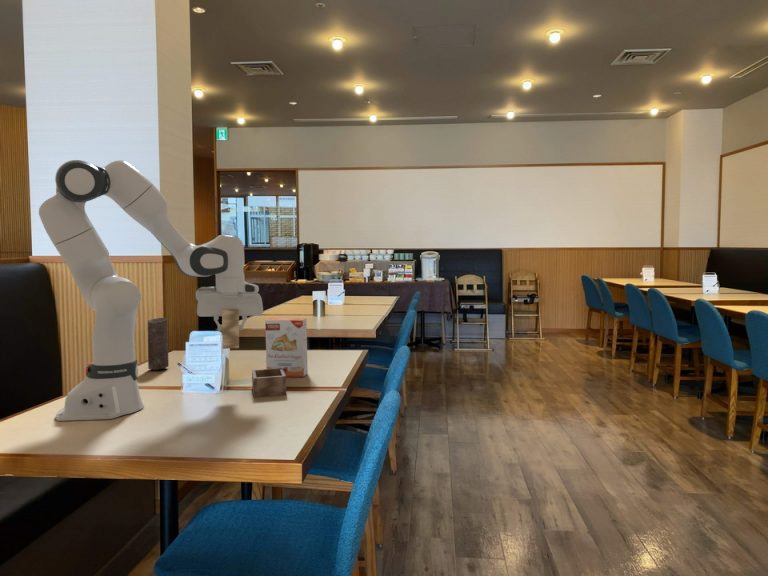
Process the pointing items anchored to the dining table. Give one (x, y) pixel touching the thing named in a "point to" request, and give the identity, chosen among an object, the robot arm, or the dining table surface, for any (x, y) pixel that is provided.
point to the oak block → (230, 328)
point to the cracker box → (287, 345)
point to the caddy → (268, 382)
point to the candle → (157, 344)
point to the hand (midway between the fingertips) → (230, 330)
